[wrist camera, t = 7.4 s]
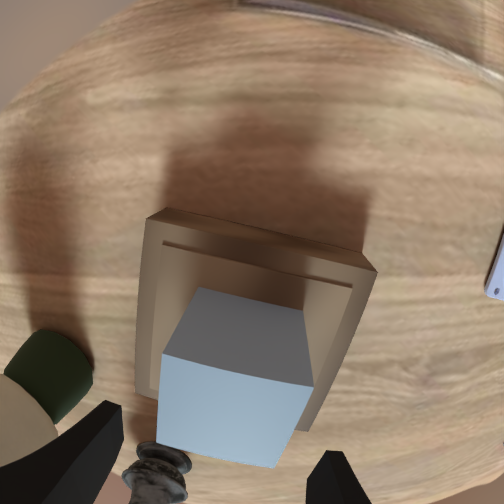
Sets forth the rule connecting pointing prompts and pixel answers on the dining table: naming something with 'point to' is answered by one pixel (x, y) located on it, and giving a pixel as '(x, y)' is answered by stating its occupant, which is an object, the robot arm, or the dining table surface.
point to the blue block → (234, 379)
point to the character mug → (39, 392)
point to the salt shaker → (157, 475)
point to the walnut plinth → (247, 289)
